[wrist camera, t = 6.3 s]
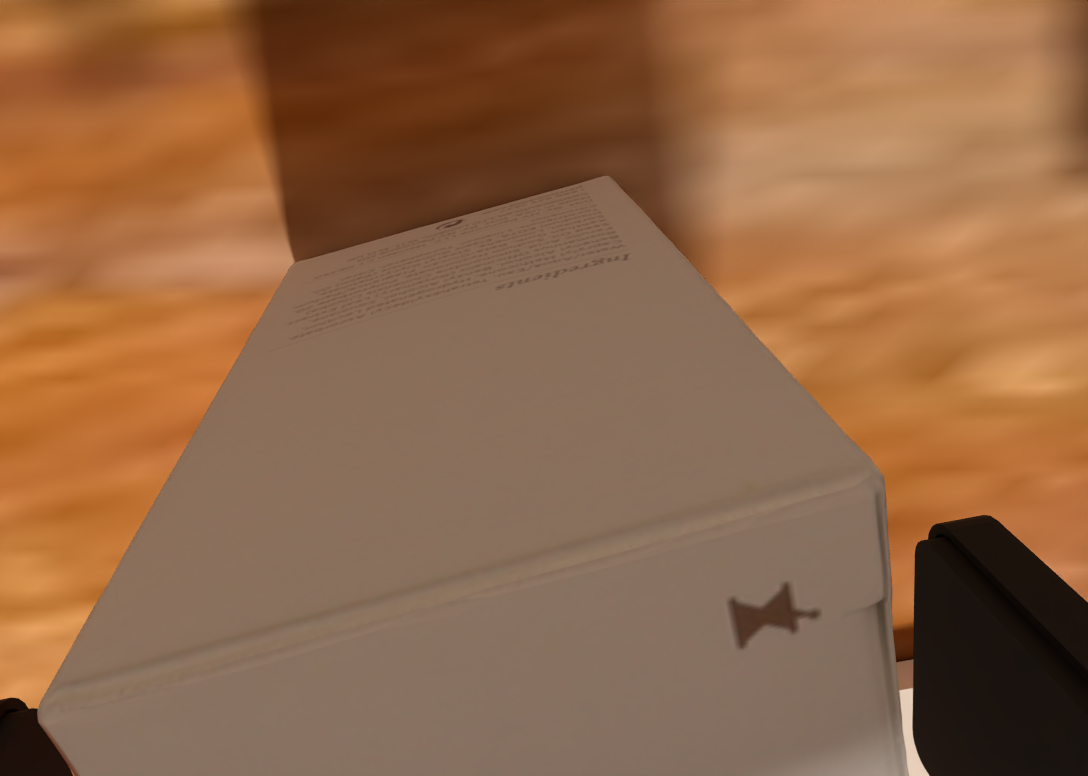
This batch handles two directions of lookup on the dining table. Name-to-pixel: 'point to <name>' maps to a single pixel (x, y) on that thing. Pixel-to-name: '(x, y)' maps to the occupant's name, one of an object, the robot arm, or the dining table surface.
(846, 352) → the dining table surface
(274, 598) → the small box
